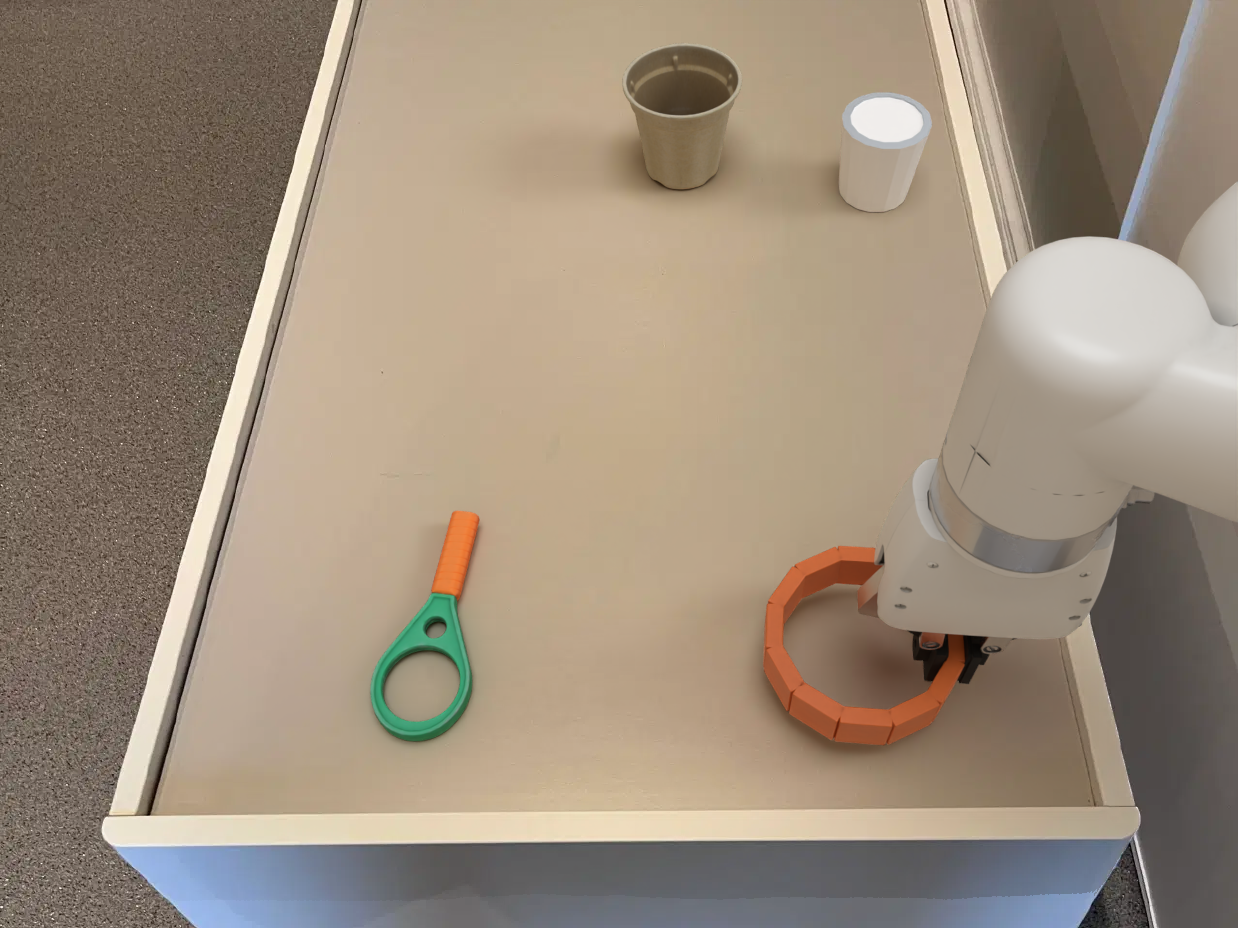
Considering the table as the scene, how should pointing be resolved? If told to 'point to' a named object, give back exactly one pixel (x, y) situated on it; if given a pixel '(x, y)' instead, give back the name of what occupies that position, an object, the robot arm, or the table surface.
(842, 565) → the ring
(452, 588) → the magnifying glass
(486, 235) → the table surface
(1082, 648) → the table surface
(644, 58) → the flower pot
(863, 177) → the white cylinder
